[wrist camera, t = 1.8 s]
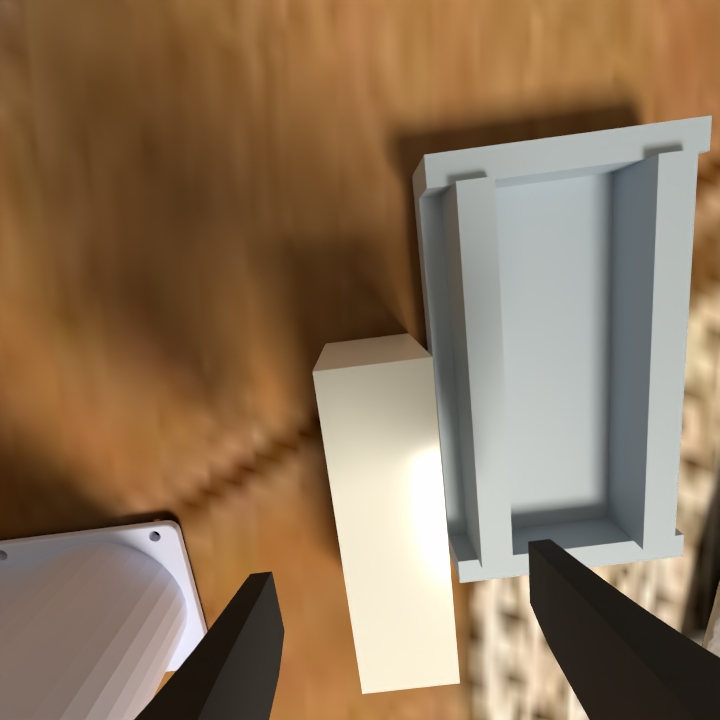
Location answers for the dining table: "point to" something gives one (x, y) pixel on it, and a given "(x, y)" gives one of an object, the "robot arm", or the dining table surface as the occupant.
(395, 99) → the dining table surface
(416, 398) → the clay bar
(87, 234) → the dining table surface
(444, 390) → the tray
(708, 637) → the stone
